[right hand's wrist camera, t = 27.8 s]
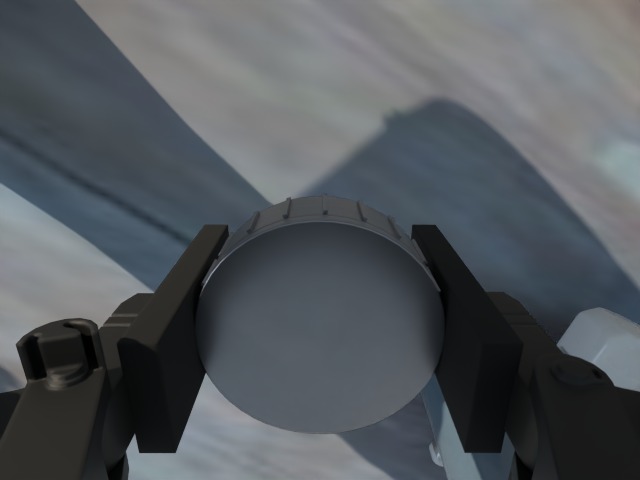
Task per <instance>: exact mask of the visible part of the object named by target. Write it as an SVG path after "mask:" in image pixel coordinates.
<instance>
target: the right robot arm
mask: <svg viewBox="0 0 640 480" xmlns="http://www.w3.org/2000/svg"><path fill="white" fill-rule="evenodd" d="M228 237H229V232H228V225H204V227H203V228H202V229H201V231H200V232H199V233H198V235H197V236H196V237H195V239H194V240H193V241H192V243H191V244H190V245H189V247H188V248H187V249H186V251H185V252H184V253H183V255H182V256H181V258H180V259H179V260H178V262H177V263H176V264H175V266H174V267H173V268H172V270H171V271H170V272H169V274H168V275H167V276H166V278H165V279H164V280H163V282H162V283H161V284H160V286H159V287H158V288H157V290H156V291H155V292H154V293H137V294H136V295H134V296H132V297H131V298H129V299H127V300H126V301H124V302H123V303H121V304H120V305H119V307H118V308H117V309H116V310H115V311H114V312H113V314H112V317H109V318H108V320H107V321H106V322H105V323H104V326H103V327H101V328H100V329H99V330H98V326H97V324H96V323H94V322H93V321H91V320H87V319H82V318H74V319H64V320H59V321H55V322H51V323H48V324H46V325H43V326H41V327H38V328H36V329H34V330H32V331H31V332H29V333H28V334H26V335H24V336H23V337H22V338H21V339H20V340H19V341H18V343H17V344H16V347H17V350H18V353H19V356H20V360H21V363H22V366H23V369H24V372H25V376H26V379H27V384H26V387H25V388H23V389H19V390H15V391H10V392H5V393H0V480H128V473H129V465H128V459H127V455H126V450H127V448H128V446H129V444H130V442H131V440H132V438H133V436H134V434H135V435H136V440H137V444H138V449H139V453H176V450H177V448H178V445H179V442H180V440H181V437H182V434H183V432H184V429H185V426H186V424H187V421H188V419H189V416H190V413H191V411H192V408H193V405H194V403H195V400H196V397H197V395H198V392H199V389H200V387H201V384H202V381H203V379H204V376H205V373H206V371H205V369H204V367H203V365H202V362H201V360H200V358H199V355H198V350H197V343H196V335H195V327H194V321H195V311H196V307H197V302H198V299H199V296H200V293H201V291H202V288H203V286H201V284H202V282H203V280H204V278H205V276H206V275H207V273H208V271H209V269H210V267H211V266H212V264H213V262H214V260H215V259H217V260H218V258H219V256H218V255H219V253H220V251H221V249H222V247H223V246H224V244H225V242H226V240H227V238H228ZM412 239H414V240H415V241H416V243H417V245H418V247H419V248H420V250H421V252H422V254H423V256H424V257H425V259H426V261H427V264H425V265H426V267H428V268H429V270H430V272H431V274H432V275H433V277H434V279H435V281H436V283H437V285H438V286H439V288H440V290H441V293H442V294H440V296H441V299H442V302H443V305H444V311H445V318H446V329H445V338H444V345H443V352H442V355H441V358H440V361H439V363H438V365H437V367H436V369H435V371H434V373H435V375H436V378H437V381H438V383H439V386H440V389H441V391H442V394H443V397H444V399H445V402H446V405H447V407H448V410H449V413H450V415H451V418H452V420H453V423H454V426H455V428H456V431H457V434H458V436H459V439H460V442H461V444H462V447H463V450H464V452H465V453H501V450H502V446H503V441H504V436H505V431H506V433H507V435H508V437H509V439H510V441H511V443H512V445H513V447H514V449H515V450H514V455H513V459H512V463H511V468H510V472H509V477H508V480H640V391H635V390H630V389H625V388H621V387H617V386H614V384H613V382H612V380H611V379H610V378H609V376H608V375H607V374H606V373H605V372H604V371H603V370H601V369H600V368H599V367H597V366H596V365H594V364H593V363H590V362H588V361H586V360H584V359H582V358H579V357H576V356H572V355H568V354H564V353H563V352H562V351H561V350H560V349H559V348H558V346H557V345H556V344H555V343H554V342H553V341H552V339H551V338H550V337H549V336H548V335H547V334H546V332H545V331H544V330H543V329H542V328H541V327H540V325H537V322H536V321H535V320H534V319H533V317H532V316H531V315H529V313H528V312H527V310H526V309H525V308H524V307H523V306H522V305H521V303H520V302H519V301H517V300H515V299H514V298H512V297H510V296H509V295H507V294H505V293H504V292H485V291H484V289H483V288H482V287H481V285H480V284H479V283H478V281H477V280H476V279H475V277H474V276H473V275H472V273H471V272H470V271H469V269H468V268H467V267H466V265H465V264H464V263H463V261H462V260H461V258H460V257H459V256H458V254H457V253H456V252H455V250H454V249H453V248H452V246H451V245H450V244H449V242H448V241H447V240H446V238H445V237H444V236H443V234H442V233H441V232H440V230H439V229H438V228H437V226H436V225H412V235H411V240H412Z"/></svg>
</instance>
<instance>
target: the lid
mask: <svg viewBox="0 0 640 480" xmlns="http://www.w3.org/2000/svg"><path fill="white" fill-rule="evenodd" d="M218 256H219V258H218V260H217V259H215V260H214V262H213V264H212V266H211V267H210V269H209V271H208V273H207V275H206V276H205V278H204V280H203V282H202V284H201V286H203V288H202V291H201V293H200V296H199V299H198V302H197V307H196V311H195V321H194V327H195V335H196V343H197V350H198V355H199V358H200V360H201V362H202V365H203V367H204V369H205V371H206V373H207V375H208V376H209V378H210V380H211V381H212V383H213V384H214V385H215V386H216V388H217V389H218V390H219V391H220V393H221V394H222V395H224V396H225V397H226V398H227V399H228V400H229V401H230V402H231V403H232V404H233V405H235V406H236V407H237V408H239V409H240V410H241V411H243V412H244V413H246V414H248V415H249V416H251V417H253V418H255V419H257V420H259V421H261V422H263V423H266V424H268V425H271V426H274V427H277V428H280V429H284V430H288V431H293V432H299V433H308V434H331V433H341V432H347V431H352V430H356V429H360V428H363V427H367V426H369V425H372V424H374V423H377V422H379V421H382V420H383V419H385V418H387V417H389V416H391V415H393V414H394V413H396V412H397V411H399V410H400V409H402V408H403V407H404V406H406V405H407V404H408V403H409V402H410V401H411V400H413V399H414V398H415V397H416V396H417V395H418V394H419V393H420V391H421V390H422V389H423V388H424V387H425V386H426V384H427V383H428V381H429V380H430V378H431V377H432V375H433V374H434V371H435V369H436V367H437V365H438V363H439V361H440V358H441V355H442V352H443V345H444V338H445V329H446V318H445V311H444V305H443V302H442V299H441V296H440V294H442V293H441V290H440V288H439V286H438V285H437V283H436V281H435V279H434V277H433V275H432V274H431V272H430V270H429V268H428V267H426V265H425V264H427V261H426V259H425V257H424V256H423V254H422V252H421V250H420V248H419V247H418V245H417V243H416V241H415V240H414V239H412V240H410V238H409V237H408V235H407V234H406V233H405V232H404V231H403V230H402V229H401V228H400V227H399V226H398V225H397V224H396V223H395V221H394V219H393V217H391V216H389V217H387V216H385V215H384V214H382V213H380V212H379V211H377V210H375V209H373V208H371V207H369V206H366V205H364V204H363V202H362V201H361V200H358V202H355V201H352V200H348V199H344V198H337V197H329V196H327V194H323V196H312V197H302V198H297V199H292V200H291V197H290V198H287V199H286V201H284V202H282V203H279V204H276V205H274V206H271V207H269V208H267V209H265V210H263V211H261V212H260V213H259V212H258V211H256V212H255V213H254V215H253V217H252V218H251V219H249V220H248V221H247V222H246V223H244V224H243V225H242V226H241V227H240V228H239V229H238V230H237V231H236V232H235V233H232V232H231V234H230V235H229V237H228V238H227V240H226V242H225V244H224V246H223V247H222V249H221V251H220V253H219V255H218Z"/></svg>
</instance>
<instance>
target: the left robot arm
mask: <svg viewBox="0 0 640 480" xmlns="http://www.w3.org/2000/svg"><path fill="white" fill-rule="evenodd" d="M557 346H558V348H559V349H560V350H561V351H562V352H563V353H564V354H568V355H572V356H576V357H579V358H582V359H584V360H586V361H588V362H590V363H593V364H594V365H596V366H597V367H599V368H600V369H601V370H603V371H604V372H605V373H606V374H607V375H608V376H609V378H610V379H611V380H612V382H613V384H614V386H617V387H621V388H625V389H630V390H635V391H640V325H638V324H637V323H635V322H633V321H631V320H629V319H627V318H625V317H623V316H621V315H619V314H617V313H614V312H612V311H610V310H607V309H605V308H601V307H597V308H593V309H589V310H585V311H582V312H580V313H579V314H578V315H577V316H576V317H575V319H574V320H573V322H572V323H571V325H570V326H569V327H568V329H567V330H566V332H565V333H564V335H563V336H562V337H561V339H560V340H559V342H558V343H557ZM429 450H430V453H431V457H432V460H433V461H434V462H435V464H437V465H439V466H442V467H443V463H442V460H441V457H440V454H439V451H438V448H437V444H436V441H435V438H434V439H433V441H432V443H431V444H430V446H429Z"/></svg>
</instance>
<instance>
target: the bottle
mask: <svg viewBox="0 0 640 480" xmlns="http://www.w3.org/2000/svg"><path fill="white" fill-rule="evenodd" d="M420 394H421V397H422V400H423V403H424V406H425V409H426V413H427V416H428V419H429V422H430V425H431V429H432V432H433V435H434V438H435V441H436V444H437V448H438V451H439V454H440V457H441V460H442V463H443V467H444V470H445V473H446V476H447V479H448V480H508V477H509V472H510V468H511V463H512V459H513V455H514V450H515V449H514V447H513V445H512V443H511V441H510V439H509V437H508V435H507V433H506V431H505V436H504V441H503V446H502V450H501V453H465V452H464V450H463V447H462V444H461V442H460V439H459V436H458V434H457V431H456V428H455V426H454V423H453V420H452V418H451V415H450V413H449V410H448V407H447V405H446V402H445V399H444V397H443V394H442V391H441V389H440V386H439V383H438V381H437V378H436V375H435V373H434V374H433V375H432V377H431V378H430V380H429V381H428V383H427V384H426V386H425V387H424V388H423V389H422V390H421V391H420Z"/></svg>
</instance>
